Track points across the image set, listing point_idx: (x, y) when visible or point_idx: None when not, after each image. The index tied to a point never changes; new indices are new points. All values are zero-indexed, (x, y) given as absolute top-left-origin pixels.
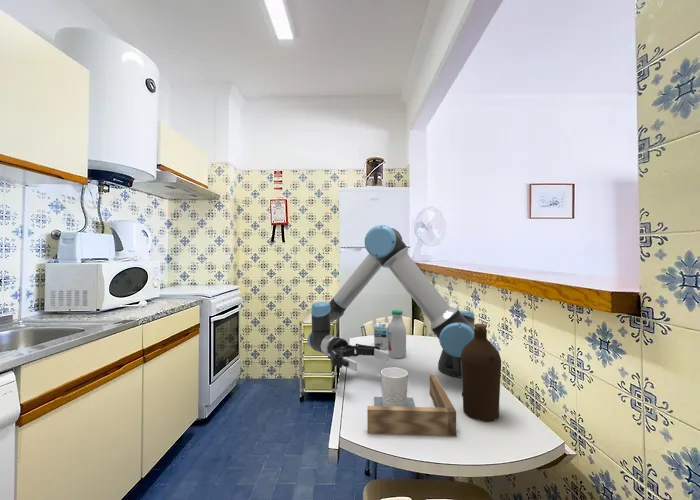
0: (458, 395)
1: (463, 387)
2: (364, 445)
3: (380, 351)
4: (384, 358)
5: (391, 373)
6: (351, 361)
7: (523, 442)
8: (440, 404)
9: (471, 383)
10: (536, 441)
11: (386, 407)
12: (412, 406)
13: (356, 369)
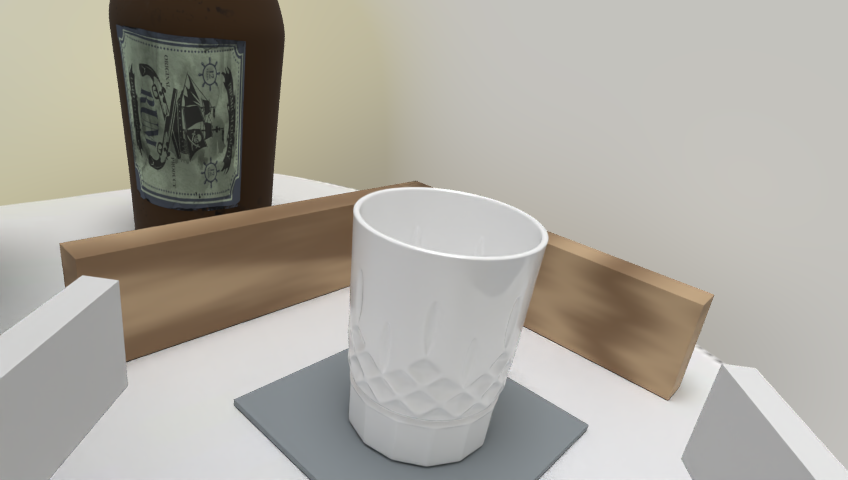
0: (49, 294)
1: (246, 160)
2: (715, 361)
3: (3, 377)
4: (93, 394)
5: (396, 280)
6: (806, 436)
7: (308, 194)
8: (347, 236)
9: (276, 119)
10: (284, 185)
11: (618, 267)
12: (343, 361)
13: (697, 446)
